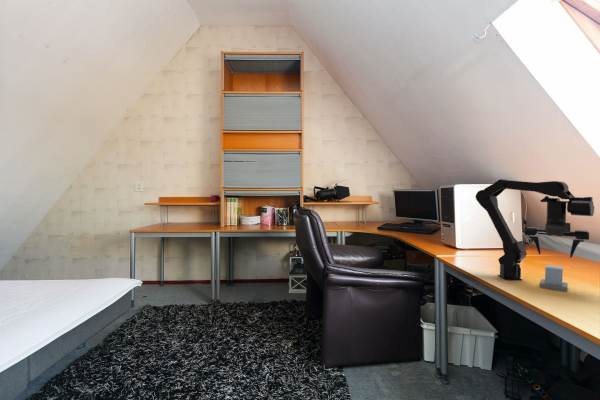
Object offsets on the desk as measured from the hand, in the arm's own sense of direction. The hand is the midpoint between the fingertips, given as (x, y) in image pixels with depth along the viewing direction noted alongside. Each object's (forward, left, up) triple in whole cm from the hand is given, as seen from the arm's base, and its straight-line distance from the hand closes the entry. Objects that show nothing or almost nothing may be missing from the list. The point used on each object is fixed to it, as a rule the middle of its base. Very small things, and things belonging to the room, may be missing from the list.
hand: (554, 255), depth 121 cm
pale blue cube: (0, 0, -10) cm, 10 cm away
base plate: (0, 0, -12) cm, 12 cm away
